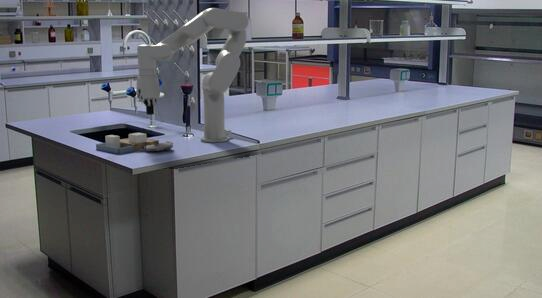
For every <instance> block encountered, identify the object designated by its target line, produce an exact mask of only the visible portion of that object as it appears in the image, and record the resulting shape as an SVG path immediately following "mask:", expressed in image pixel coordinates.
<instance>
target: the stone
mask: <svg viewBox="0 0 542 298" xmlns="http://www.w3.org/2000/svg"><path fill="white" fill-rule="evenodd" d="M173 147H174V143H173V142H172V141H167V140H166V141H165V142H162V143H161V142H159V143H158V144H151V145H146V146H145V147H144V148H145V149H144V150H146V151H148V152H160V151H164V150H171V149H172V148H173Z"/></svg>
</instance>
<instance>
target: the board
mask: <svg viewBox="0 0 542 298" xmlns="http://www.w3.org/2000/svg"><path fill="white" fill-rule="evenodd" d="M158 143H160V140H158V139H153V138H147V142H142V143H131V142H129V137H128V138H122V139H121V138H120V148H123V147H129V146H134V152H138V151H144V150H146V149H145V148H144V147H145V146H146V145H151V144H158Z"/></svg>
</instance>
